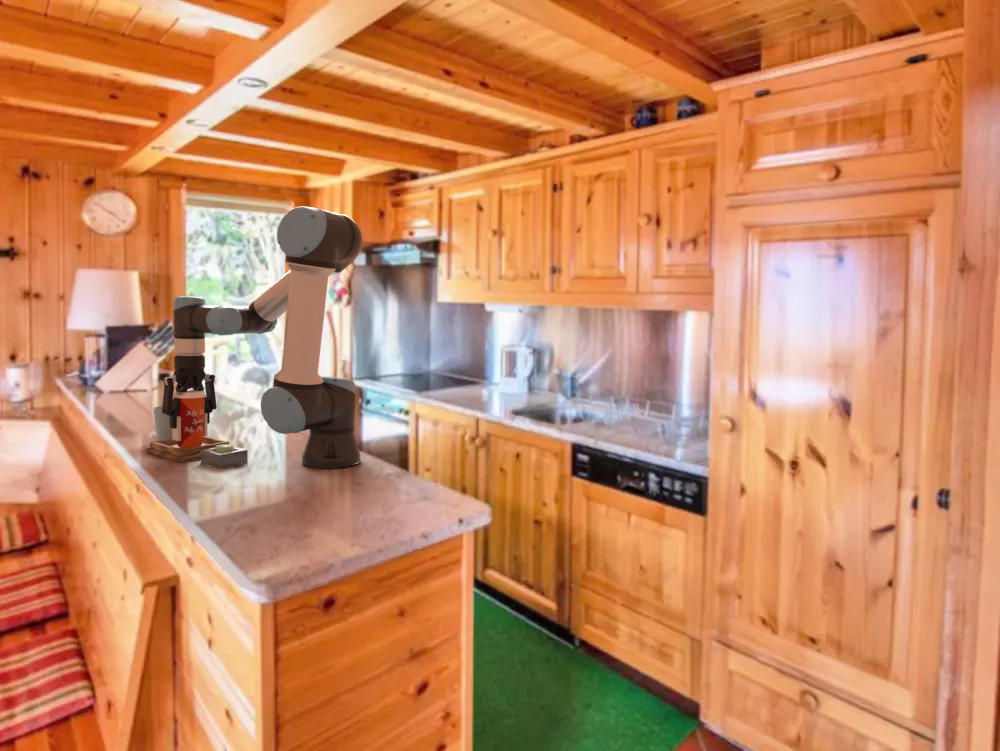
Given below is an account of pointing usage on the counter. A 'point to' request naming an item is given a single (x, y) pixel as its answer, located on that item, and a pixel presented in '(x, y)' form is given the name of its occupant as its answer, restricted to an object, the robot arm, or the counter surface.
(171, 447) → the wooden tray
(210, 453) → the button housing
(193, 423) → the coffee cup
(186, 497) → the counter surface
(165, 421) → the cup
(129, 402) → the counter surface
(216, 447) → the button
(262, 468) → the counter surface
